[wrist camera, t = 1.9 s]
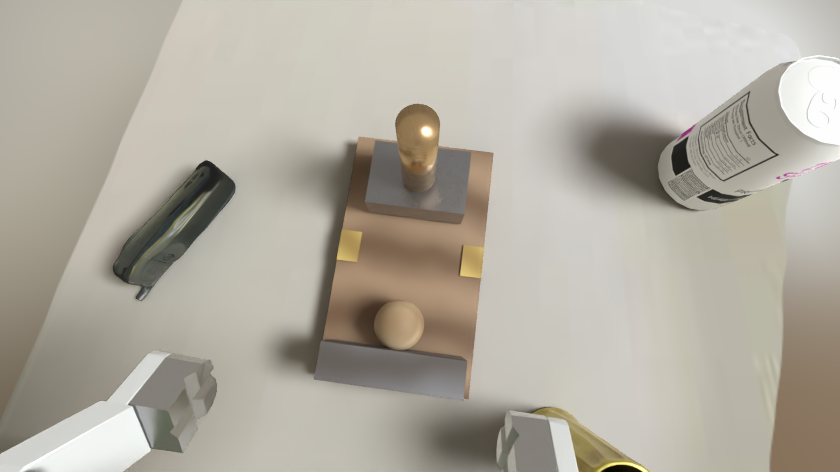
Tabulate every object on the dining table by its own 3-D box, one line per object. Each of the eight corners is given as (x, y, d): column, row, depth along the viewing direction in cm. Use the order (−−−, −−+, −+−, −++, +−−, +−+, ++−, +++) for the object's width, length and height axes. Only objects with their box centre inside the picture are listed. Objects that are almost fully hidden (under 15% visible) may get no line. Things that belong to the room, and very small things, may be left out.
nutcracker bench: (466, 395, 39) (475, 410, 32) (321, 375, 40) (300, 385, 33) (490, 160, 44) (502, 130, 37) (361, 144, 45) (350, 112, 38)
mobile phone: (199, 153, 40) (87, 282, 37) (223, 169, 39) (112, 301, 36) (222, 173, 45) (125, 288, 42) (244, 187, 44) (148, 305, 41)
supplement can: (671, 126, 45) (792, 30, 30) (744, 162, 44) (904, 80, 29) (641, 187, 44) (752, 117, 29) (715, 226, 43) (868, 173, 28)
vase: (509, 460, 38) (559, 538, 24) (532, 395, 39) (592, 434, 25) (572, 489, 37) (660, 587, 24) (593, 423, 39) (689, 478, 25)
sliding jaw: (460, 224, 40) (479, 174, 27) (370, 212, 41) (344, 157, 27) (467, 167, 42) (488, 92, 28) (379, 156, 42) (358, 77, 29)
